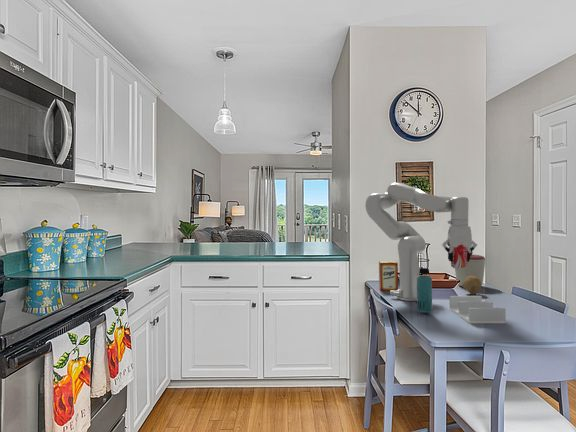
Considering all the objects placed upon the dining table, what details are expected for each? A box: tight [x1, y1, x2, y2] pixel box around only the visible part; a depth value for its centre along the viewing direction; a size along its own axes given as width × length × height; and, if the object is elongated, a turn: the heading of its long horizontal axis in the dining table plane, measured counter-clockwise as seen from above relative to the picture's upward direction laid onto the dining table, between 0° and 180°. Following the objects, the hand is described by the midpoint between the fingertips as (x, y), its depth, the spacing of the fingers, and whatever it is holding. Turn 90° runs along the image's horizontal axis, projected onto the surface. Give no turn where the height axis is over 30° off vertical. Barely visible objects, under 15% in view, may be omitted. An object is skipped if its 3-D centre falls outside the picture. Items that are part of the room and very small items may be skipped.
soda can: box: [450, 243, 467, 270], centre depth 194 cm, size 7×7×12 cm
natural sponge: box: [463, 276, 482, 296], centre depth 218 cm, size 9×9×10 cm
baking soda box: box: [378, 260, 399, 292], centre depth 234 cm, size 10×6×16 cm
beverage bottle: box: [416, 267, 433, 313], centre depth 180 cm, size 6×7×20 cm
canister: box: [454, 251, 487, 288], centre depth 240 cm, size 18×18×21 cm
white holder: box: [448, 295, 507, 324], centre depth 176 cm, size 14×23×6 cm, turn 178°
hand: (459, 261), depth 194 cm, fingers closed on soda can, 7 cm apart
